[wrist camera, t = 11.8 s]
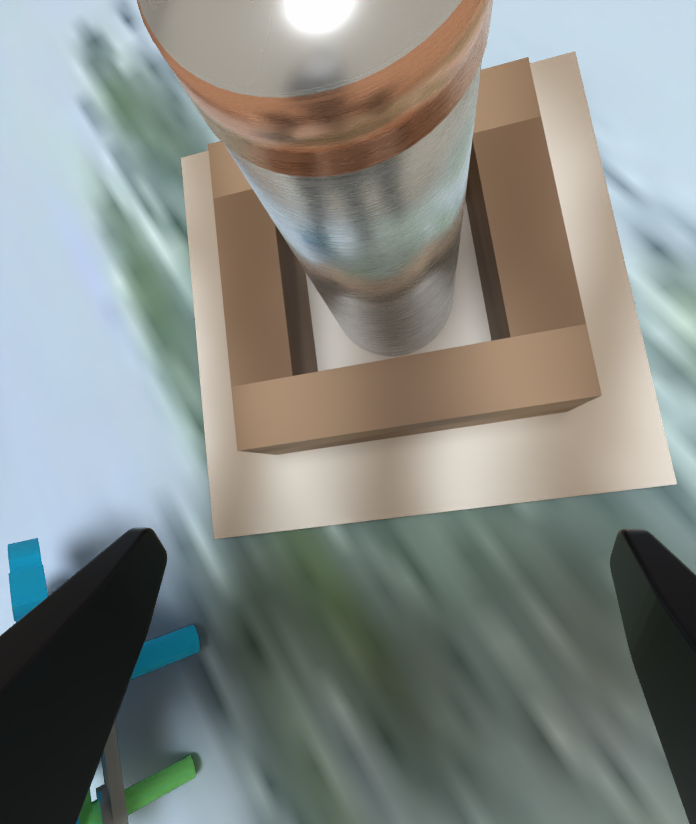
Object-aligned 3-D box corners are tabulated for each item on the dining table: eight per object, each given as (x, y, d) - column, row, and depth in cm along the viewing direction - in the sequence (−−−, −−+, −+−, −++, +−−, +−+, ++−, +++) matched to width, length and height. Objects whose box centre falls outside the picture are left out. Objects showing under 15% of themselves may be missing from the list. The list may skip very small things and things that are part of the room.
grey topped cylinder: (372, 380, 17) (235, 171, 5) (312, 284, 18) (73, -87, 6) (478, 313, 17) (596, -82, 5) (411, 218, 18) (368, -316, 6)
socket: (223, 536, 19) (160, 555, 14) (190, 169, 21) (128, 94, 17) (665, 483, 16) (746, 487, 12) (569, 69, 18) (607, -51, 14)
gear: (-9, 532, 19) (-32, 585, 11) (148, 500, 22) (223, 521, 14) (28, 811, 19) (35, 1083, 10) (180, 735, 22) (276, 896, 14)
